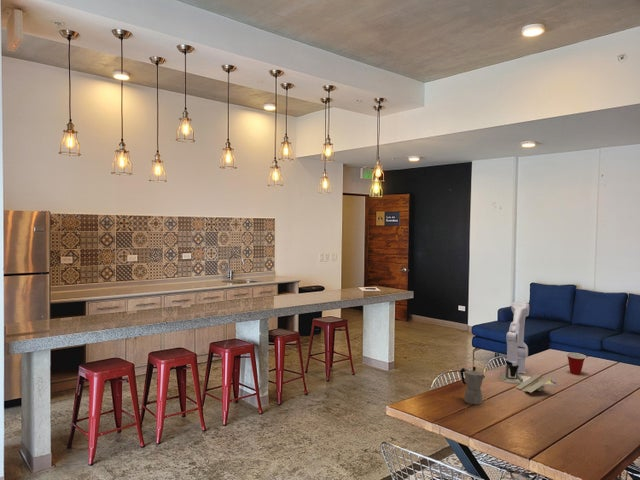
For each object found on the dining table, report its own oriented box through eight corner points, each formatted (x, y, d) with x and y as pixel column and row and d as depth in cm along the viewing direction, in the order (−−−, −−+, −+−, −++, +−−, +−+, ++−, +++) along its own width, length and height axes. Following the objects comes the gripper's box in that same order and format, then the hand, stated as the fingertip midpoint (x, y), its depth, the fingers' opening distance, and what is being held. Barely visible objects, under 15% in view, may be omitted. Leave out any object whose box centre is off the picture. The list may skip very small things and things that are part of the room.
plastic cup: (567, 375, 299) (568, 355, 298) (564, 370, 309) (564, 351, 309) (587, 377, 296) (587, 357, 295) (583, 372, 306) (583, 353, 306)
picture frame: (505, 376, 289) (505, 365, 289) (516, 377, 288) (516, 366, 288) (506, 378, 285) (507, 366, 285) (517, 379, 284) (517, 367, 284)
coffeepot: (489, 403, 246) (490, 368, 245) (477, 407, 241) (478, 371, 240) (465, 394, 259) (466, 361, 258) (453, 397, 254) (454, 364, 253)
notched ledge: (500, 376, 294) (500, 372, 294) (550, 379, 288) (550, 375, 288) (504, 382, 282) (504, 377, 282) (556, 386, 277) (556, 381, 276)
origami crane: (541, 404, 257) (559, 385, 260) (531, 392, 257) (549, 373, 260) (524, 398, 273) (541, 380, 276) (514, 387, 273) (531, 369, 276)
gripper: (502, 348, 294) (502, 370, 295) (507, 354, 280) (506, 377, 280) (515, 349, 293) (514, 371, 293) (520, 355, 279) (519, 378, 279)
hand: (511, 374), depth 287 cm, fingers open, 7 cm apart
